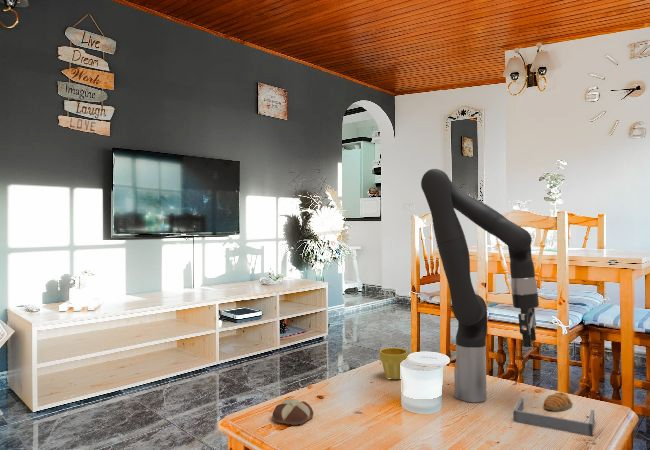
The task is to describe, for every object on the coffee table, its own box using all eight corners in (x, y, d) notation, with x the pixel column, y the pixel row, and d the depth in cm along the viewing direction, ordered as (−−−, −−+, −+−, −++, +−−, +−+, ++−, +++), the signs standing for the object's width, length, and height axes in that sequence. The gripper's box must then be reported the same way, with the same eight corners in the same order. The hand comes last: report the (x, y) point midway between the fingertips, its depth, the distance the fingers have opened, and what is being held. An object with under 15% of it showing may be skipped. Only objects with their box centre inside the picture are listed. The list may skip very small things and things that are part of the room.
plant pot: (374, 378, 178) (374, 351, 178) (389, 371, 186) (389, 345, 186) (398, 384, 171) (398, 356, 171) (413, 376, 179) (413, 350, 179)
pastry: (559, 415, 142) (559, 402, 142) (537, 408, 148) (537, 396, 148) (574, 407, 148) (573, 394, 148) (552, 401, 153) (551, 389, 153)
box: (513, 421, 138) (513, 410, 138) (520, 408, 148) (520, 398, 148) (592, 436, 128) (592, 424, 128) (594, 420, 137) (594, 410, 137)
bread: (289, 409, 150) (289, 393, 150) (319, 417, 144) (318, 400, 144) (264, 421, 141) (264, 404, 141) (295, 430, 135) (295, 412, 135)
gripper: (516, 289, 160) (521, 338, 160) (507, 295, 148) (512, 348, 148) (540, 288, 157) (546, 339, 156) (533, 294, 144) (539, 349, 144)
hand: (529, 343), depth 152 cm, fingers open, 8 cm apart
